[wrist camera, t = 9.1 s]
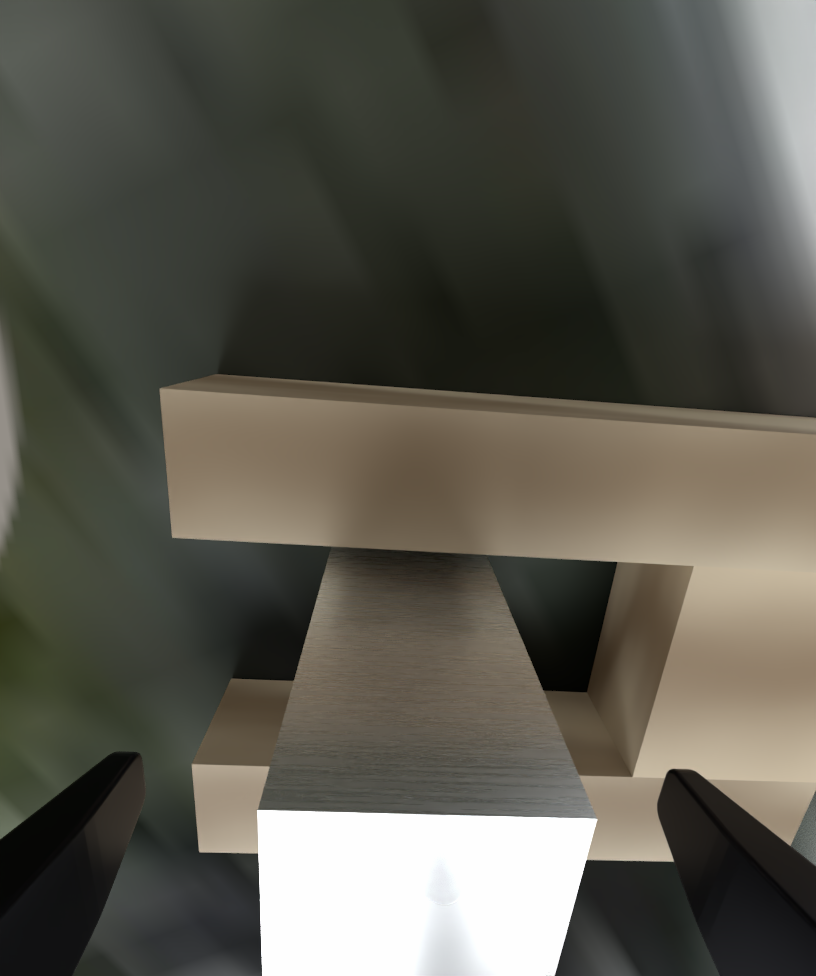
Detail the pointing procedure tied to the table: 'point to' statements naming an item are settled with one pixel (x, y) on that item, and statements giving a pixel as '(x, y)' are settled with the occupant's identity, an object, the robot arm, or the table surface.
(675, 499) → the notched board
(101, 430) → the table surface
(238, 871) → the table surface
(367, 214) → the table surface
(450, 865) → the grey peg
